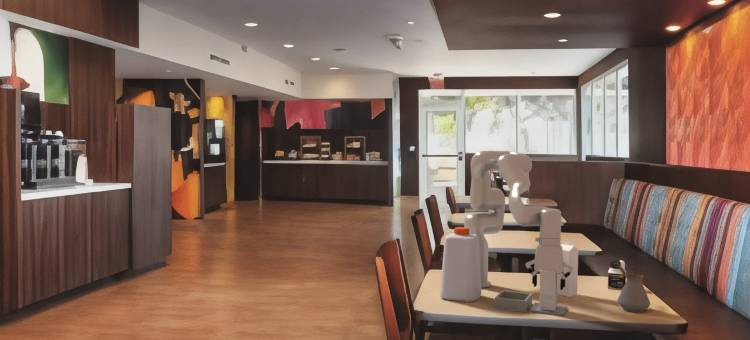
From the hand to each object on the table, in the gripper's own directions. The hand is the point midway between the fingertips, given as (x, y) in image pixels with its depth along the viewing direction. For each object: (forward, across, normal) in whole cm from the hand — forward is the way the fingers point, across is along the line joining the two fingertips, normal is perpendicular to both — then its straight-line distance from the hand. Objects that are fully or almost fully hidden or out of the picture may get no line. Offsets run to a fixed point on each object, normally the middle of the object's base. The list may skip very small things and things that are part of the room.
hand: (548, 287), depth 229 cm
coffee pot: (+8, +27, +20) cm, 35 cm away
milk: (+9, +3, +28) cm, 29 cm away
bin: (+8, -13, 0) cm, 15 cm away
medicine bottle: (+9, +21, +51) cm, 56 cm away
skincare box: (+8, 0, 0) cm, 8 cm away
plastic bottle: (+9, -35, +4) cm, 36 cm away
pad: (+8, 0, 0) cm, 8 cm away
